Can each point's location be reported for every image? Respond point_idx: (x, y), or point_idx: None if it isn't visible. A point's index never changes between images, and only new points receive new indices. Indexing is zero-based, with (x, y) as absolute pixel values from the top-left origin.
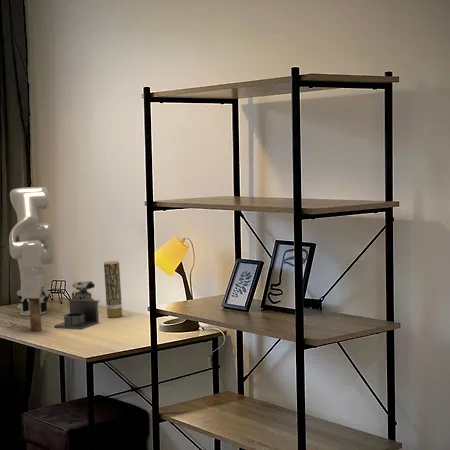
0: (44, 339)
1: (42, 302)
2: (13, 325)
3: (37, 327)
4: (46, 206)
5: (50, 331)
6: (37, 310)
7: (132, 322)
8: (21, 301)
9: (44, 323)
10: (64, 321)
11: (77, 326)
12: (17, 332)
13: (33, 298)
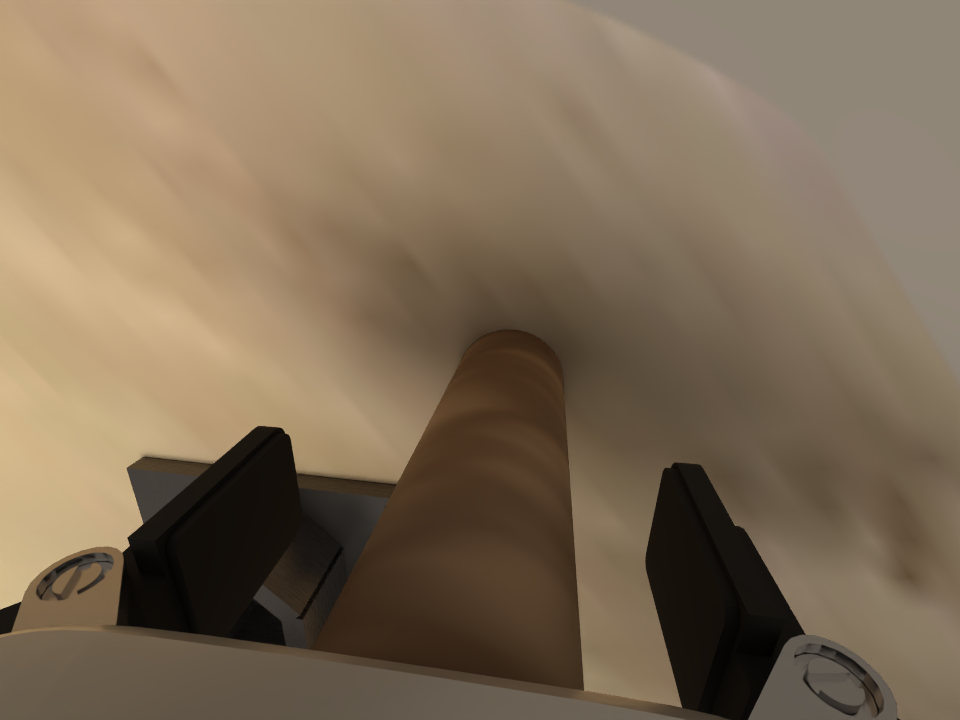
0: (109, 4)
1: (111, 558)
2: (913, 531)
3: (462, 362)
4: None
5: (332, 357)
6: (396, 486)
7: None
8: (850, 668)
9: (607, 613)
10: (306, 549)
11: (172, 485)
12: (667, 247)
13: (228, 641)
